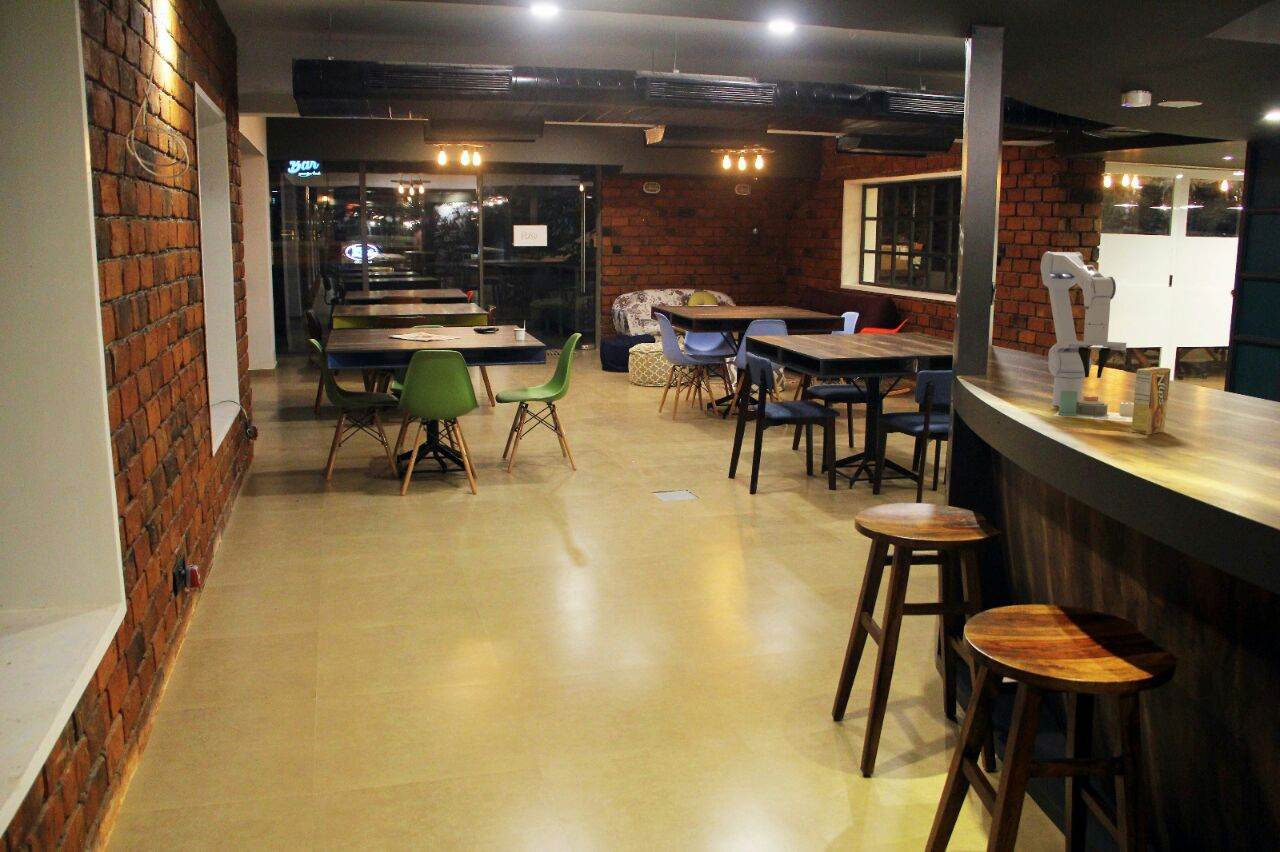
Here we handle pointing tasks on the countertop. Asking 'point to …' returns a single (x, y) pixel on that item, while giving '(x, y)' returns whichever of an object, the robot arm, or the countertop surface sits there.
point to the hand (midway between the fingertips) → (1092, 377)
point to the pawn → (1068, 403)
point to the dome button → (1090, 401)
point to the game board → (1121, 414)
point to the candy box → (1151, 399)
